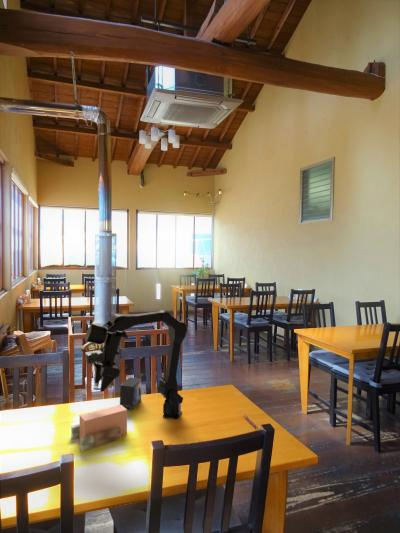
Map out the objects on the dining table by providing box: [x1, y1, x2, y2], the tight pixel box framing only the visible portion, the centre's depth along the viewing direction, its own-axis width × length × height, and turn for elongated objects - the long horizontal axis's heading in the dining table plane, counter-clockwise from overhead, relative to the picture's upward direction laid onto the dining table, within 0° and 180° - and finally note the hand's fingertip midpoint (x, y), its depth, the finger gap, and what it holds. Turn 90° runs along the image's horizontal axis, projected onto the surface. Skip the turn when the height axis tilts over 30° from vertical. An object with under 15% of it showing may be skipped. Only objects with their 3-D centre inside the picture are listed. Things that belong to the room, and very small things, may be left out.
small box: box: [119, 376, 142, 411], centre depth 162 cm, size 11×6×10 cm, turn 168°
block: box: [79, 404, 128, 439], centre depth 135 cm, size 16×6×9 cm, turn 127°
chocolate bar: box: [242, 412, 261, 431], centre depth 147 cm, size 3×12×2 cm, turn 19°
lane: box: [70, 423, 121, 452], centre depth 133 cm, size 14×12×4 cm
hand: (98, 387), depth 138 cm, fingers open, 9 cm apart
